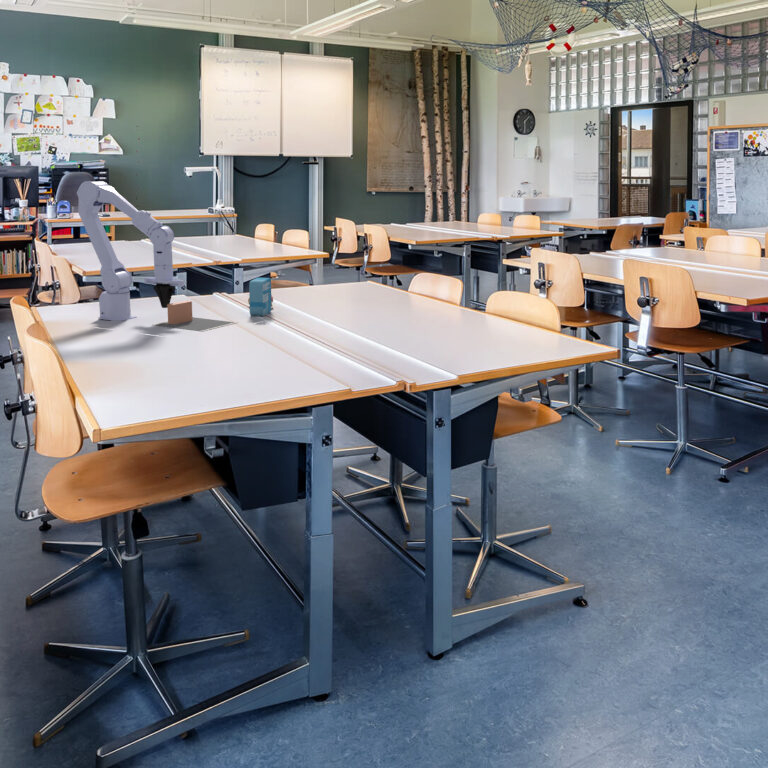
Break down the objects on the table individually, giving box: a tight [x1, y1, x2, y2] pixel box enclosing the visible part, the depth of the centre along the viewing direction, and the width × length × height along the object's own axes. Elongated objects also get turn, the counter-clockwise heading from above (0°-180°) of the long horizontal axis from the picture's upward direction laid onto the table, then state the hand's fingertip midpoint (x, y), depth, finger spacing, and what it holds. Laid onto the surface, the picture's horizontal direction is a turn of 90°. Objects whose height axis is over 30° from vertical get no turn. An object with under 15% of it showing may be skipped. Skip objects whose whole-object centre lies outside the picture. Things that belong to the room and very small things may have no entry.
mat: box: [152, 316, 239, 333], centre depth 261 cm, size 20×18×1 cm
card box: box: [166, 300, 193, 324], centre depth 262 cm, size 2×9×6 cm, turn 154°
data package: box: [248, 277, 272, 317], centre depth 283 cm, size 12×4×12 cm, turn 173°
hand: (165, 307), depth 265 cm, fingers closed
